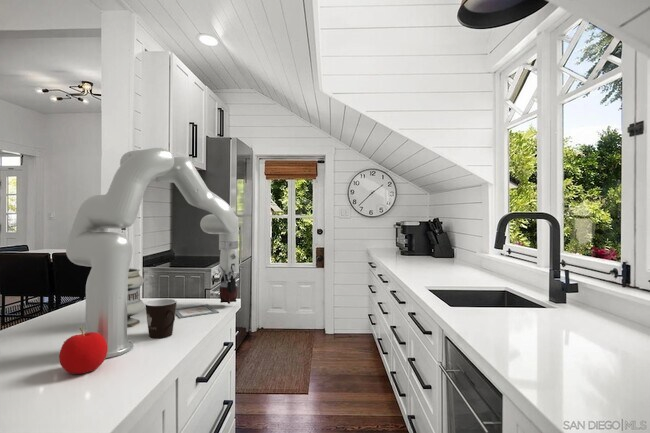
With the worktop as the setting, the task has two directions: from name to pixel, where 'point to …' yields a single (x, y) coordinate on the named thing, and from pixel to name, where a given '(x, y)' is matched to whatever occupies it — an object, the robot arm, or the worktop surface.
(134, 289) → the apothecary jar
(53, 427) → the worktop surface
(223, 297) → the mate gourd
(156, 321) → the coffee mug
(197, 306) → the gray square frame
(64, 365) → the fruit
